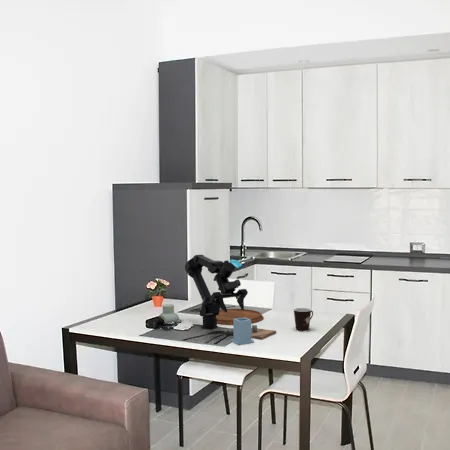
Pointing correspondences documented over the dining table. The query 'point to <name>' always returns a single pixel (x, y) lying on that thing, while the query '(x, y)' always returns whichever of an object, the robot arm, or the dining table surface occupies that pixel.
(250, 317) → the cutting board
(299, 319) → the coffee mug
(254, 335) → the locating plate
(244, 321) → the light blue square holder
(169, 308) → the air freshener
